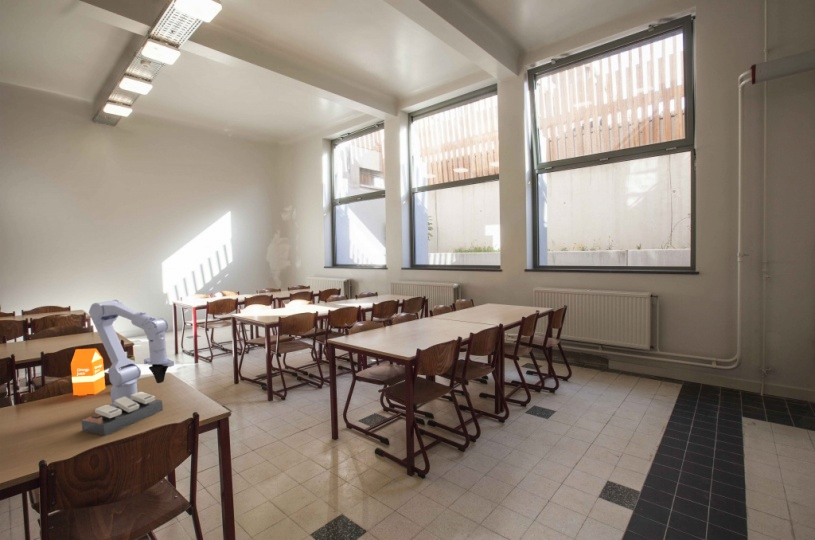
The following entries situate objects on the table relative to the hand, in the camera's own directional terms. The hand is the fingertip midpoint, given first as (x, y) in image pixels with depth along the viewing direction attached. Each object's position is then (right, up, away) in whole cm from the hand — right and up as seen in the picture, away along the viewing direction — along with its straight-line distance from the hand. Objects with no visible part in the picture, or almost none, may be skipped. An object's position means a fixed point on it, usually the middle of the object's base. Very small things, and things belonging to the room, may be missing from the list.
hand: (160, 382), depth 162 cm
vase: (-30, -10, +26) cm, 41 cm away
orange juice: (-45, -10, +20) cm, 50 cm away
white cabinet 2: (-6, -6, -11) cm, 14 cm away
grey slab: (-6, -11, -8) cm, 15 cm away
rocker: (-8, -7, -17) cm, 20 cm away
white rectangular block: (-4, -6, -5) cm, 8 cm away
